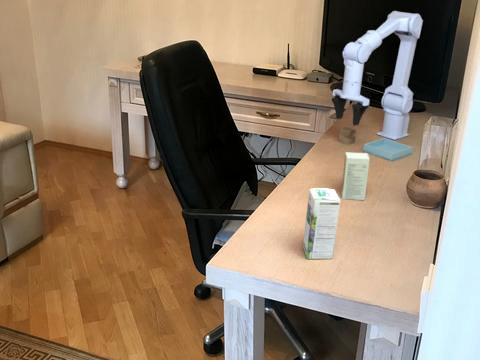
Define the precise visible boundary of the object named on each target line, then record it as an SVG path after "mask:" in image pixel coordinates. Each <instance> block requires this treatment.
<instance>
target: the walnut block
mask: <svg viewBox="0 0 480 360" xmlns="http://www.w3.org/2000/svg"><path fill="white" fill-rule="evenodd" d="M356 135H357V128H354V127H351V126H348V125H346V126H343V127H340V128H339V135H338V143H342V144H345V145H352V144H354V143H355V142H356V137H357V136H356Z"/></svg>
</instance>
